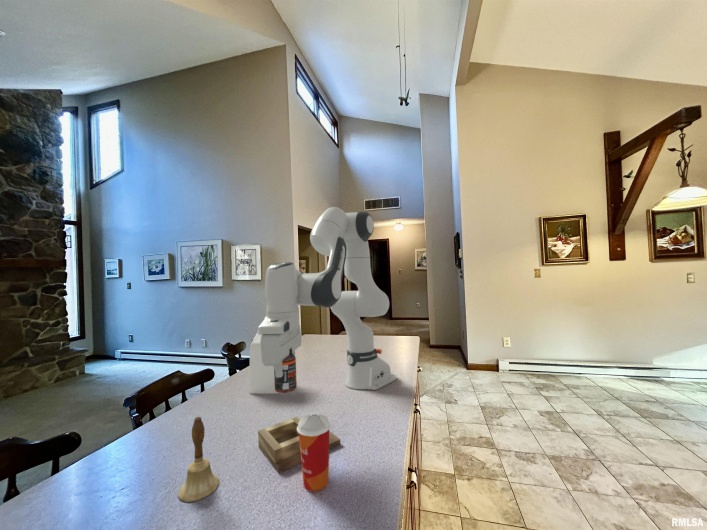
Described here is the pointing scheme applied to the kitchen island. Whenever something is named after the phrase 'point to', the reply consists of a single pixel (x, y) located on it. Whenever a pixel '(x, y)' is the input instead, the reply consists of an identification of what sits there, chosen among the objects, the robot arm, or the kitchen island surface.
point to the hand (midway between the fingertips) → (285, 371)
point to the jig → (285, 444)
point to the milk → (260, 370)
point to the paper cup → (314, 451)
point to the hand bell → (198, 470)
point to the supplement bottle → (287, 375)
